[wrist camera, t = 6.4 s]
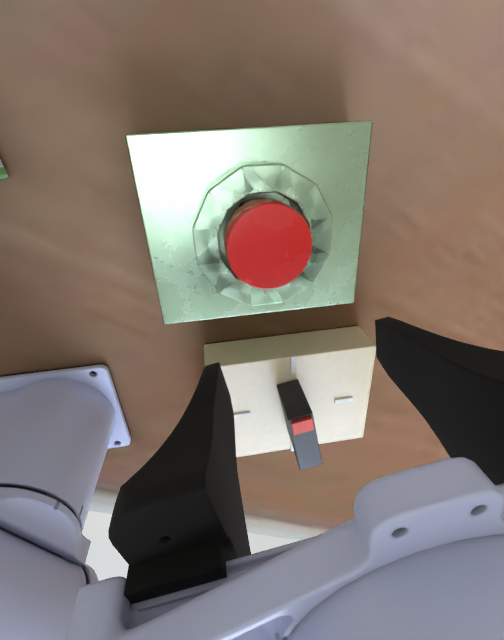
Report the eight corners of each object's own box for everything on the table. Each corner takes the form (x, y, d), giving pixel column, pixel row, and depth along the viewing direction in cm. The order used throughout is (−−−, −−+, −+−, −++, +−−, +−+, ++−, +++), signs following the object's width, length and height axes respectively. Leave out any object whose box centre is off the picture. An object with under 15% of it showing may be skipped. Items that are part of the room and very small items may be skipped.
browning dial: (308, 427, 25) (323, 467, 22) (288, 432, 25) (301, 474, 22) (298, 378, 23) (314, 415, 20) (276, 384, 23) (288, 422, 20)
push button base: (168, 304, 22) (160, 342, 18) (135, 136, 17) (114, 131, 13) (337, 286, 23) (368, 317, 19) (349, 124, 19) (394, 116, 14)
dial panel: (216, 432, 28) (218, 462, 26) (203, 343, 24) (204, 368, 21) (348, 412, 29) (364, 439, 27) (358, 324, 25) (378, 345, 22)
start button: (227, 280, 17) (230, 293, 16) (220, 201, 15) (222, 206, 14) (301, 273, 18) (311, 285, 16) (302, 194, 16) (314, 199, 14)
